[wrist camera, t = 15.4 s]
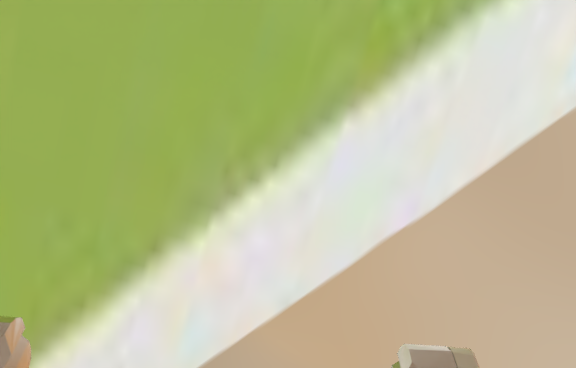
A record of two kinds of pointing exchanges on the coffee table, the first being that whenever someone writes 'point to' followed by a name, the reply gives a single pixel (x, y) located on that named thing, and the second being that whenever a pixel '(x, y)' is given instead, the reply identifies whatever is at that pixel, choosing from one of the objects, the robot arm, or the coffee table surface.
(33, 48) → the coffee table surface
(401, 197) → the coffee table surface
